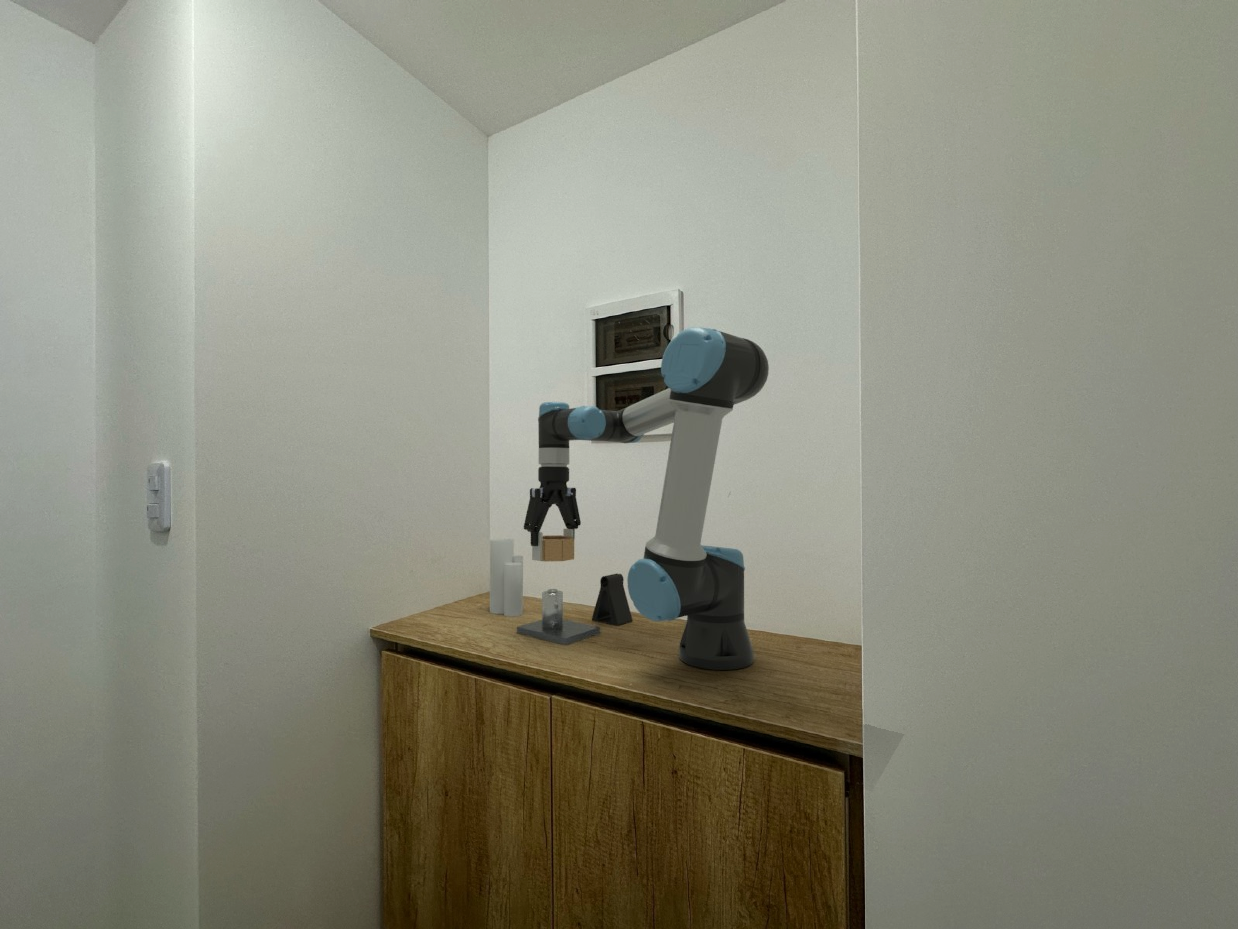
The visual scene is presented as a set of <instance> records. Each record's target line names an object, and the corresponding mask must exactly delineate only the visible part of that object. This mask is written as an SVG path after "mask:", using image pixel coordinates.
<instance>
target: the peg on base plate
mask: <svg viewBox="0 0 1238 929" xmlns="http://www.w3.org/2000/svg"><path fill="white" fill-rule="evenodd" d="M541 597H542V598H541V619H540V620H536V621H533V622H530V623H526V624H523V625H519V626H516V634H519V635H522V636H527V637H530V638H531V637H532V638H535V639H540V640H544V641H548V642H552V643H555V644H560V645H564V646H567V645H570V644H573V643H575V642H579V641H583V640H584V639H588V638H590V637H593V636H596V635H600V634H601V627H600V626H597V625H591V624H587V623H582V622H577V621H572V620H569V619H564V591H562V590H559V589H556V588H548V589H547V590H545V591H542V592H541Z"/></svg>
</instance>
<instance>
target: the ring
mask: <svg viewBox="0 0 1238 929" xmlns="http://www.w3.org/2000/svg"><path fill="white" fill-rule="evenodd" d="M571 560H572V561H573V560H575V539H574V537H573V536H563V535H559V534H557V535H553V534H552V535H548V534H547V535H543V540H542V560H536V561H539V562H565V561H571Z"/></svg>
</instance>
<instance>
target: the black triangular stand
mask: <svg viewBox="0 0 1238 929" xmlns="http://www.w3.org/2000/svg"><path fill="white" fill-rule="evenodd" d="M599 580H600V581H599V583H600V588H599V592H598V595H597V599H596V601H595V602H596V603H595V606H594V610H593V614H592V616H591V622H596V623H601V624H607V625H611V626H615V627H619V626H621V625H625V624H629V623H631V622H633V617H632V613H631V609H630V605H629V601H628V598H627V595H626V591H625V587H624V576H623V575H622V574H621V573H613V574H607V575H604V576H601V578H600V579H599Z"/></svg>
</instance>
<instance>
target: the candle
mask: <svg viewBox="0 0 1238 929" xmlns="http://www.w3.org/2000/svg"><path fill="white" fill-rule="evenodd" d="M514 542H515V541H514V539H513V538H494V539H492V538H491V539H490V540H489V613H490V614H494V615H502V614H503V616H505V617H508V618H509V617H510V618H515V617H521V616H522V615H523V612H524V609H523V608H524V607H523V606H524V556H523V555H514V554H515V553H514V549H515V548H514V547H515V546H514V544H515V543H514Z"/></svg>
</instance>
